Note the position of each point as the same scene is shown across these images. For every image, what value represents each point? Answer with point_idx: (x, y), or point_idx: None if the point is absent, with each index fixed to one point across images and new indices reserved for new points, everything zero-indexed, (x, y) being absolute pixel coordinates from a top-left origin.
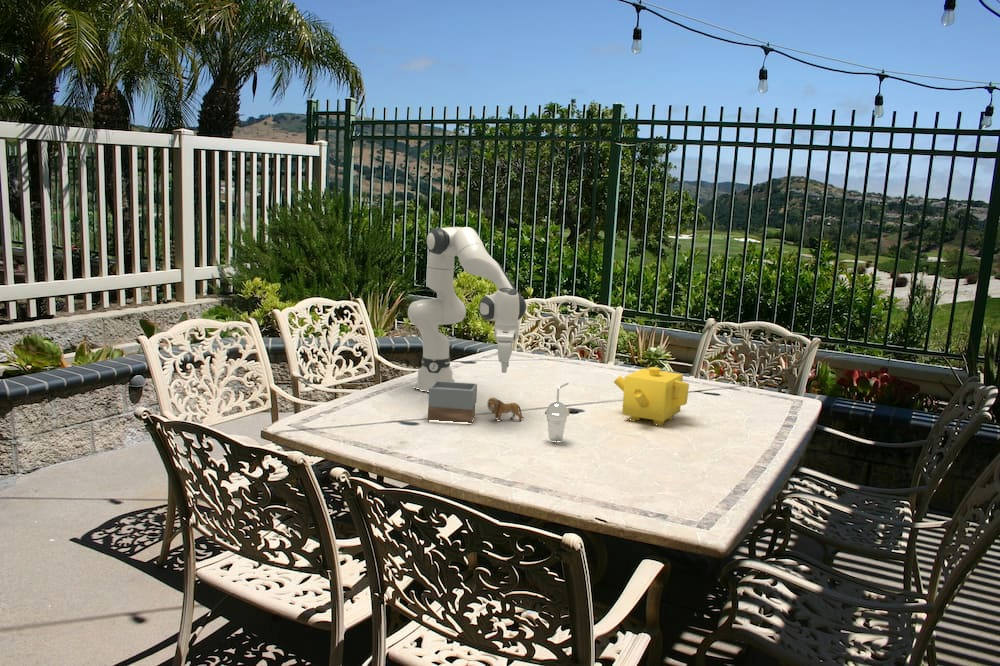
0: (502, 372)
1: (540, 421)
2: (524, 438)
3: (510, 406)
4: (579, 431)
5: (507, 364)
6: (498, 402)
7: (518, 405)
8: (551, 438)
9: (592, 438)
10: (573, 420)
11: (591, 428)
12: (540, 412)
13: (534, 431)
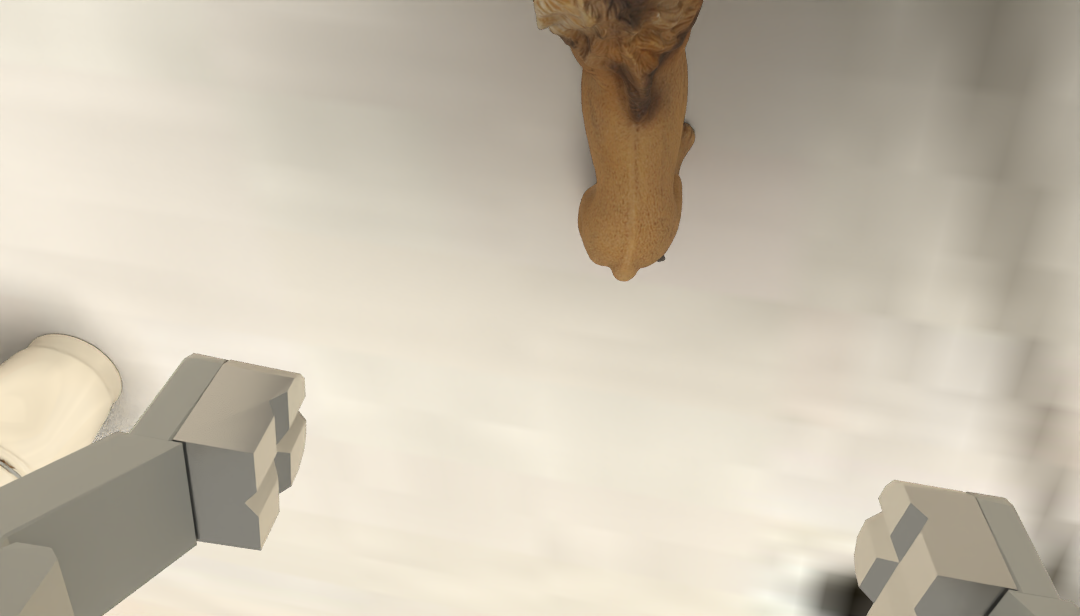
0: (195, 363)
1: (598, 368)
2: (56, 171)
3: (598, 183)
4: (358, 537)
5: (873, 608)
6: (575, 43)
7: (616, 276)
8: (6, 360)
9: (221, 563)
10: (629, 562)
11: (440, 603)
12: (893, 414)
13: (287, 278)
